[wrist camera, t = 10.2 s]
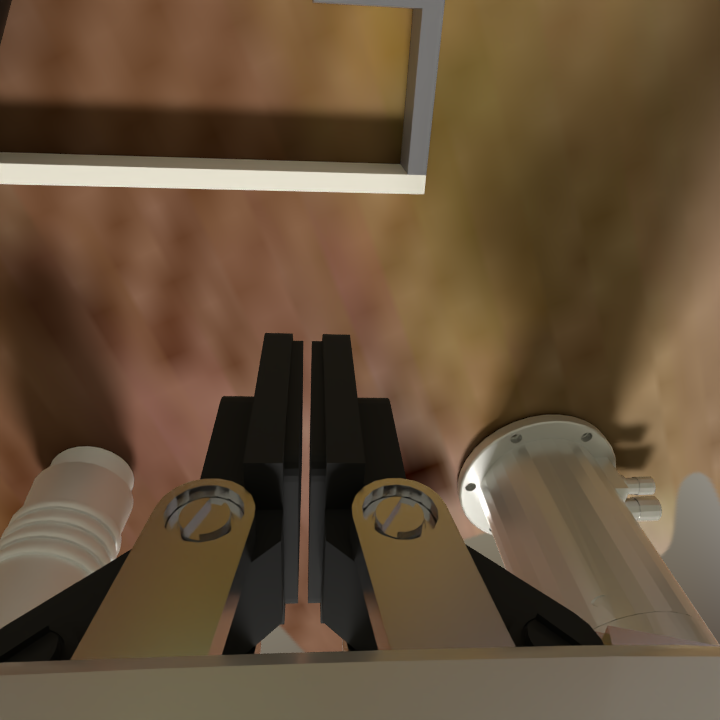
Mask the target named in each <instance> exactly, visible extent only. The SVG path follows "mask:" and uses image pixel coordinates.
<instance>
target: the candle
mask: <svg viewBox="0 0 720 720" xmlns="http://www.w3.org/2000/svg"><path fill="white" fill-rule="evenodd" d="M133 485H134V476H133V472H132V470H131V468H130V467H129V465H128V464H127V463H126V462H125V461H124V460H123V459H122V458H121V457H119V456H118V455H116V454H114V453H113V452H110V451H108V450H105V449H102V448H97V447H91V446H82V447H74V448H70V449H67V450H65V451H63V452H61V453H59V454H58V455H57V456H56V457H55V458H54V459H53V460H52V463H51V465H50V467H48V468H47V469H45V470H43V471H42V472H41V473H40V474H39V475H38V476H37V477H36V478H35V480H34V482H33V484H32V487H31V489H30V491H29V494H28V496H27V498H26V501H25V503H24V505H23V507H21V508H20V509H19V510H18V511H17V512H16V513H15V514H14V515H13V517H12V519H11V521H10V523H9V525H8V527H7V528H6V529H5V531H4V533H3V535H2V537H1V539H0V629H1V628H2V627H4V626H5V625H7V624H9V623H10V622H12V621H14V620H15V619H17V618H19V617H20V616H22V615H24V614H25V613H27V612H28V611H30V610H32V609H33V608H35V607H37V606H38V605H40V604H42V603H43V602H45V601H47V600H48V599H50V598H52V597H53V596H55V595H57V594H58V593H60V592H62V591H63V590H65V589H67V588H68V587H70V586H71V585H73V584H75V583H76V582H78V581H80V580H81V579H83V578H85V577H86V576H88V575H90V574H91V573H93V572H95V571H96V570H98V569H100V568H101V567H103V566H105V565H106V564H108V563H110V562H111V561H113V560H114V559H116V556H117V554H118V552H119V550H120V546H121V539H122V538H121V533H122V530H123V528H124V526H125V524H126V522H127V519H128V517H129V515H130V513H131V511H132V507H133V497H132V492H131V490H132V488H133Z"/></svg>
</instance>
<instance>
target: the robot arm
mask: <svg viewBox="0 0 720 720" xmlns="http://www.w3.org/2000/svg"><path fill="white" fill-rule="evenodd" d="M302 410H303V341H293V334H283V333H265V336H264V342H263V348H262V353H261V359H260V365H259V371H258V377H257V383H256V389H255V395H254V397H243V396H223V397H222V399H221V401H220V405H219V409H218V413H217V417H216V420H215V424H214V428H213V432H212V436H211V440H210V443H209V447H208V451H207V455H206V459H205V463H204V467H203V470H202V474H201V478H200V480H196V481H191V482H188V483H186V484H183V485H181V486H179V487H176V488H175V489H173V490H172V491H170V492H169V493H168V494H166V495H165V496H164V497H163V498H162V499H161V500H160V502H159V503H158V504H157V505H156V507H155V508H154V510H153V512H152V514H151V515H150V517H149V519H148V521H147V523H146V524H145V526H144V528H143V530H142V532H141V533H140V535H139V537H138V539H137V541H136V542H135V544H134V546H133V548H132V549H131V550H129V551H128V552H126V553H124V554H123V555H121V556H119V557H118V558H116V559H114V560H113V561H111V562H110V563H108V564H106V565H105V566H103V567H101V568H100V569H98V570H96V571H95V572H93V573H91V574H90V575H88V576H86V577H85V578H83V579H81V580H80V581H78V582H76V583H75V584H73V585H71V586H70V587H68V588H67V589H65V590H63V591H62V592H60V593H58V594H57V595H55V596H53V597H52V598H50V599H48V600H47V601H45V602H43V603H42V604H40V605H38V606H37V607H35V608H33V609H32V610H30V611H28V612H27V613H25V614H24V615H22V616H20V617H19V618H17V619H15V620H14V621H12V622H10V623H9V624H7V625H5V626H4V627H2V628H1V629H0V720H720V645H719V643H718V642H717V640H716V639H715V637H714V636H713V634H712V633H711V632H710V630H709V628H708V627H707V625H706V624H705V622H704V621H703V619H702V618H701V616H700V615H699V613H698V612H697V610H696V609H695V608H694V606H693V604H692V603H691V601H690V600H689V598H688V597H687V596H686V594H685V592H684V591H683V589H682V588H681V586H680V585H679V584H678V582H677V581H676V579H675V578H674V576H673V575H672V573H671V572H670V570H669V569H668V567H667V566H666V564H665V563H664V561H663V560H662V558H661V557H660V555H659V554H658V552H657V551H656V549H655V548H654V546H653V545H652V543H651V542H650V540H649V539H648V537H647V536H646V534H645V533H644V531H643V530H642V528H641V527H640V525H639V524H638V521H657V520H659V519H660V517H661V514H662V509H661V504H660V502H659V500H658V499H657V498H656V497H655V496H641V497H630V498H627V495H628V494H635V495H646V494H653V493H654V492H655V488H656V487H655V482H654V480H653V479H652V478H651V477H632V478H624V476H622V475H620V474H619V473H618V472H617V470H616V457H615V454H614V451H613V449H612V446H611V445H610V443H609V442H608V441H607V439H606V438H605V436H604V435H603V434H602V433H601V432H600V431H599V430H598V429H597V428H596V427H595V426H593V425H592V424H590V423H588V422H587V421H585V420H582V419H579V418H576V417H573V416H566V415H540V416H534V417H528V418H525V419H522V420H519V421H516V422H513V423H511V424H509V425H507V426H505V427H503V428H501V429H499V430H497V431H496V432H494V433H493V434H491V435H490V436H488V437H487V438H485V439H484V440H483V441H482V442H481V443H480V444H479V445H478V446H477V447H476V448H475V449H474V450H473V451H472V453H471V454H470V455H469V456H468V458H467V459H466V461H465V463H464V465H463V467H462V469H461V471H460V475H459V479H458V496H459V500H460V503H461V506H462V509H463V511H464V513H465V515H466V517H467V518H468V519H469V520H470V522H471V523H472V524H474V525H475V526H476V527H477V528H479V529H480V530H482V531H484V532H486V533H488V534H491V535H493V537H494V540H495V542H496V545H497V548H498V550H499V553H500V555H501V558H502V561H503V563H504V566H505V569H504V568H502V567H501V566H499V565H497V564H496V563H494V562H493V561H491V560H490V559H488V558H486V557H484V556H483V555H482V554H480V553H478V552H477V551H475V550H474V549H472V548H470V547H469V546H467V545H466V544H465V543H464V541H463V539H462V537H461V535H460V533H459V530H458V528H457V526H456V524H455V522H454V520H453V518H452V516H451V514H450V512H449V510H448V508H447V506H446V504H445V503H444V502H443V500H442V499H441V497H440V496H439V495H438V494H437V493H435V492H434V491H433V490H432V489H430V488H429V487H427V486H425V485H423V484H420V483H418V482H416V481H412V480H407V479H406V476H405V471H404V467H403V462H402V457H401V452H400V448H399V443H398V438H397V433H396V428H395V424H394V419H393V414H392V409H391V405H390V401H389V399H388V398H357V390H356V382H355V373H354V365H353V357H352V348H351V340H350V335H332V334H323V337H322V341H312V363H311V415H310V473H309V564H308V603H320V611H321V623H325V624H326V625H327V626H328V627H329V628H331V629H332V630H333V631H334V632H335V633H336V634H338V635H339V636H340V637H341V638H342V639H343V641H342V645H343V651H342V652H307V653H275V654H260V652H261V640H262V639H264V638H265V637H266V636H267V635H268V634H269V633H271V631H273V630H274V629H275V628H276V627H278V626H279V625H280V624H284V620H285V604H288V603H298V576H299V542H300V508H301V474H302Z"/></svg>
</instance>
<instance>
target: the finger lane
mask: <svg viewBox="0 0 720 720" xmlns="http://www.w3.org/2000/svg"><path fill="white" fill-rule="evenodd" d="M313 3H327V4H344V5H361V6H377V7H394V8H411V9H413V17H412V29H411V41H410V53H409V65H408V77H407V89H406V101H405V113H404V125H403V137H402V149H401V161H400V164H382V163H348V162H315V161H282V160H248V159H215V158H181V157H148V156H114V155H81V154H47V153H14V152H0V184H25V185H66V186H107V187H149V188H190V189H231V190H272V191H313V192H355V193H396V194H424V190H425V181H426V172H427V162H428V153H429V144H430V134H431V125H432V116H433V106H434V97H435V88H436V78H437V69H438V60H439V50H440V41H441V32H442V22H443V13H444V4H445V0H313Z"/></svg>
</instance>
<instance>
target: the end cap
mask: <svg viewBox="0 0 720 720" xmlns="http://www.w3.org/2000/svg"><path fill="white" fill-rule="evenodd" d="M11 1H12V0H0V44H1V40H2V36H3V32H4V28H5V25H6V21H7V17H8V13H9V9H10V5H11Z"/></svg>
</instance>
